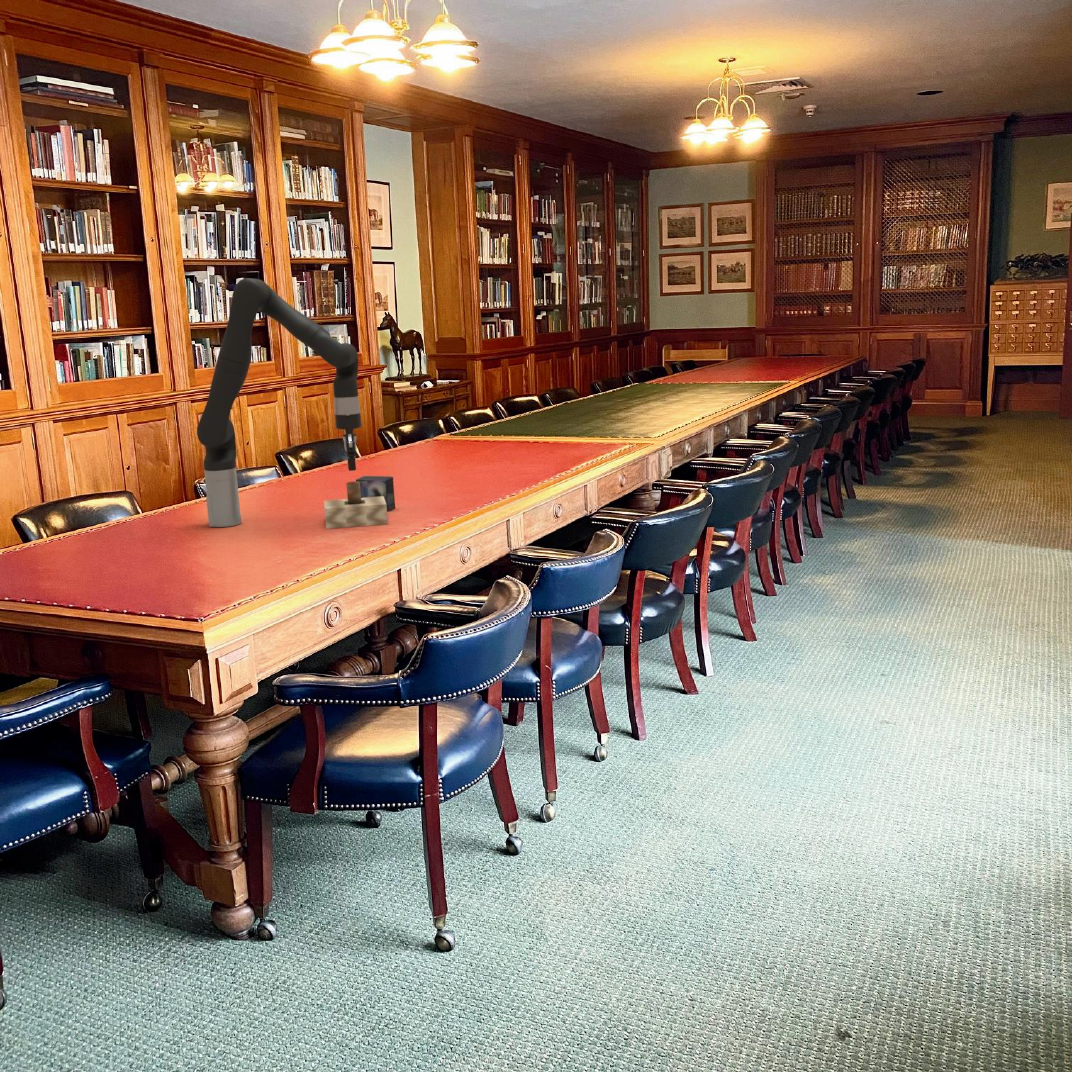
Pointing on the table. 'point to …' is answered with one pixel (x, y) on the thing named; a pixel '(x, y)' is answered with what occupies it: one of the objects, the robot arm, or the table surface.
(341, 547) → the table surface
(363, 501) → the seat board
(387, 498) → the small box
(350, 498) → the peg
